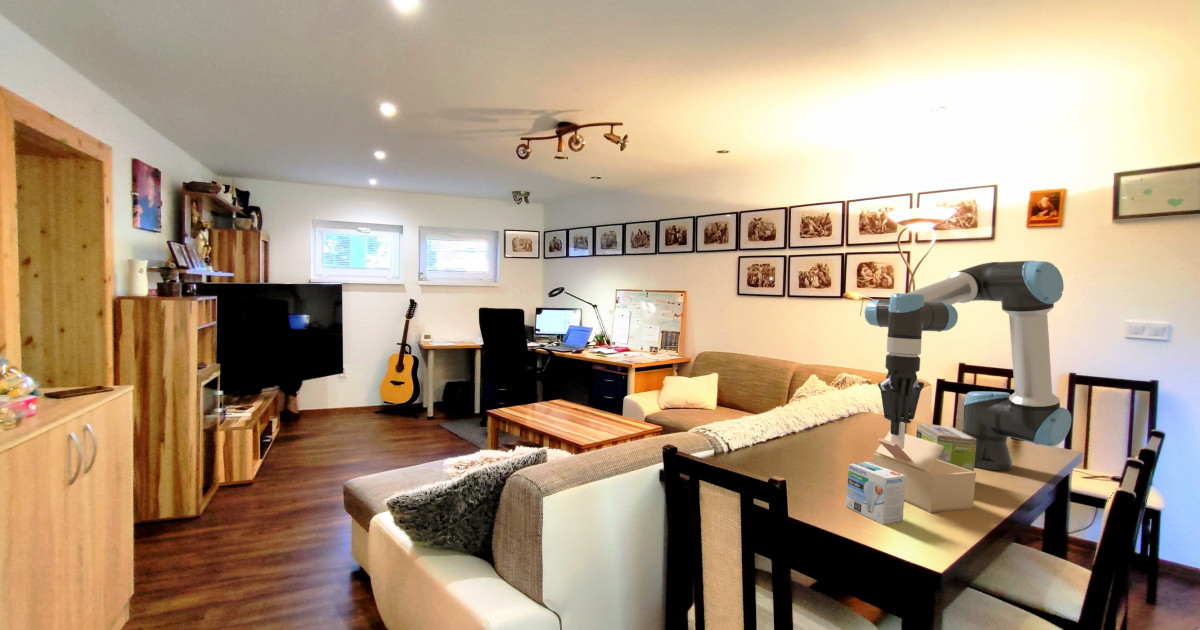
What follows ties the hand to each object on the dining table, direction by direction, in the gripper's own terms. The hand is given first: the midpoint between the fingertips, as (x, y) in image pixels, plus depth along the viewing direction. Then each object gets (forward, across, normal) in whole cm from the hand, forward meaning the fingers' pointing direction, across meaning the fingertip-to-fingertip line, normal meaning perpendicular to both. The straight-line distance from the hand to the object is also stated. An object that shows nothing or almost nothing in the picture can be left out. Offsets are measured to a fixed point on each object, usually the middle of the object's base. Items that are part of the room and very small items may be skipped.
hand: (897, 447), depth 136 cm
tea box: (+14, -26, -8) cm, 31 cm away
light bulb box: (+14, +13, +6) cm, 20 cm away
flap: (+1, -4, 0) cm, 4 cm away
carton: (+14, -9, 0) cm, 16 cm away
